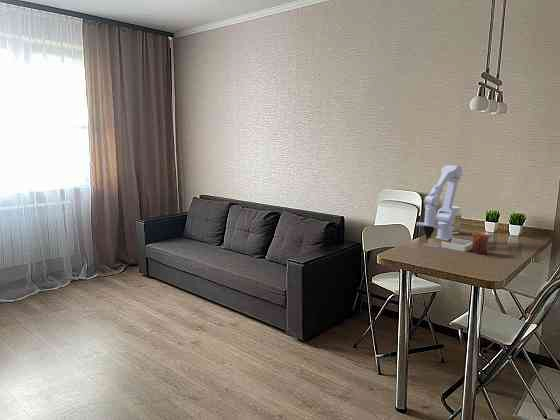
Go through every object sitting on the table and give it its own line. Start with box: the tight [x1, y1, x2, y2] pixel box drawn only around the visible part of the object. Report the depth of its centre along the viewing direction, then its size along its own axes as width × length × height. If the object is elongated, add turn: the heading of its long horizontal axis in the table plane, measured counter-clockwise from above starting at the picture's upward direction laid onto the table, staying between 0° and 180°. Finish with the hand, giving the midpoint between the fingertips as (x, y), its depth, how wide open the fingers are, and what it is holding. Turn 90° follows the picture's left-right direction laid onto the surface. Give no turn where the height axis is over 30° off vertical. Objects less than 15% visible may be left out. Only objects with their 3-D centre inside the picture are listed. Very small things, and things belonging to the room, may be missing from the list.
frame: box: [440, 237, 473, 253], centre depth 236 cm, size 16×13×3 cm
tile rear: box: [427, 236, 439, 244], centre depth 245 cm, size 5×5×2 cm
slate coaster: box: [422, 242, 441, 249], centre depth 238 cm, size 8×8×1 cm
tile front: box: [436, 239, 450, 245], centre depth 242 cm, size 5×5×2 cm
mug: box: [471, 231, 491, 255], centre depth 223 cm, size 12×9×10 cm
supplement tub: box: [448, 205, 462, 235], centre depth 275 cm, size 12×12×17 cm
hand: (428, 239), depth 247 cm, fingers closed
